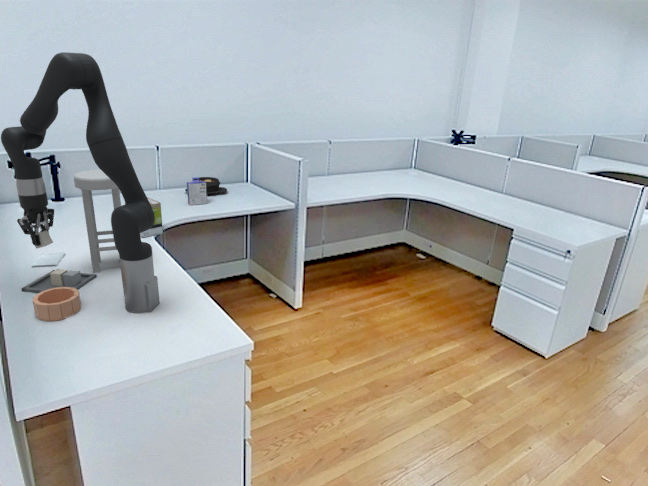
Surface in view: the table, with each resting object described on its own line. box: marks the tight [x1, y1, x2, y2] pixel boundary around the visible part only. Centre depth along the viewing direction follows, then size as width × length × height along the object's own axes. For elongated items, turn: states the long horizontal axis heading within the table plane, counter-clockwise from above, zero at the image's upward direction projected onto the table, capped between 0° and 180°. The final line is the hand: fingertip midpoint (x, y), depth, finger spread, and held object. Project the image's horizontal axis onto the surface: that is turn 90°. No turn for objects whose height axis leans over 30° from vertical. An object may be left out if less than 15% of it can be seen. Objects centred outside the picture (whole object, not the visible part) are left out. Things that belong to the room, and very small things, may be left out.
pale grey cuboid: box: [29, 230, 54, 249], centre depth 146 cm, size 4×4×4 cm
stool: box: [73, 169, 122, 274], centre depth 162 cm, size 16×16×35 cm
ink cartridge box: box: [186, 177, 208, 206], centre depth 249 cm, size 10×6×14 cm, turn 118°
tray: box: [20, 269, 98, 294], centre depth 152 cm, size 16×15×1 cm
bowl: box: [32, 287, 82, 322], centre depth 135 cm, size 12×12×5 cm
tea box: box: [124, 196, 163, 238], centre depth 202 cm, size 15×10×15 cm, turn 47°
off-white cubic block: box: [50, 268, 69, 287], centre depth 151 cm, size 4×4×4 cm
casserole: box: [184, 176, 228, 196], centre depth 273 cm, size 25×19×8 cm
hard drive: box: [31, 251, 66, 268], centre depth 169 cm, size 2×8×12 cm
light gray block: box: [63, 270, 82, 288], centre depth 150 cm, size 4×4×4 cm
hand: (41, 242), depth 147 cm, fingers closed on pale grey cuboid, 3 cm apart
